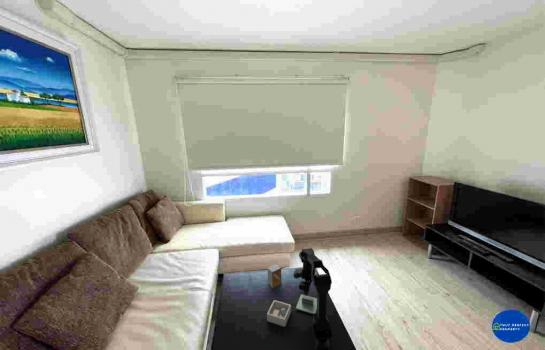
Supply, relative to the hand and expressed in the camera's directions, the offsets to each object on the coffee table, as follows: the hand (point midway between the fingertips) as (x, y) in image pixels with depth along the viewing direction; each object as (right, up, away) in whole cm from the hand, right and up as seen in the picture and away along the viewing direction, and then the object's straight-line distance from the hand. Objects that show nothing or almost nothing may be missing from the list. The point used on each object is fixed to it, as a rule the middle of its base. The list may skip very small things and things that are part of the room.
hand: (307, 290), depth 133 cm
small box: (-20, -8, +22) cm, 31 cm away
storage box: (-18, -13, -5) cm, 23 cm away
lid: (0, -11, +2) cm, 11 cm away
